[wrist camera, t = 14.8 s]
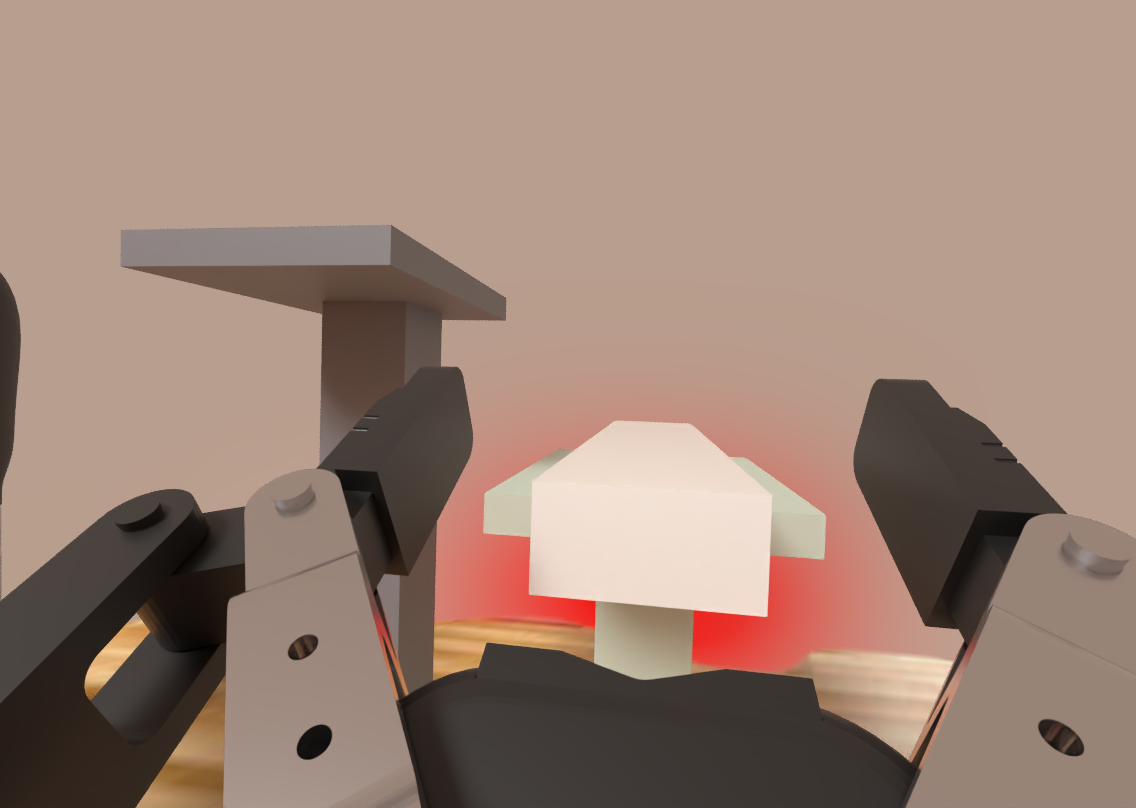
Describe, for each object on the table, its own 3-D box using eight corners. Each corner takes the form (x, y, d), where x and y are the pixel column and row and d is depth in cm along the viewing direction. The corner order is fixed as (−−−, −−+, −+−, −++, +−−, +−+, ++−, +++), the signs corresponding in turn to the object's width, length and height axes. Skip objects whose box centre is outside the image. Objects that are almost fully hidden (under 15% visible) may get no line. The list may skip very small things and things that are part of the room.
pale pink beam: (767, 617, 10) (772, 495, 10) (529, 594, 10) (532, 480, 10) (689, 461, 31) (690, 423, 31) (614, 457, 32) (615, 420, 32)
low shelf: (828, 1148, 19) (857, 517, 18) (444, 1056, 21) (459, 491, 20) (742, 777, 36) (756, 455, 36) (541, 749, 38) (550, 445, 38)
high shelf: (396, 1045, 21) (416, 224, 20) (94, 973, 23) (100, 230, 22) (514, 746, 39) (527, 303, 38) (337, 721, 41) (345, 302, 40)
